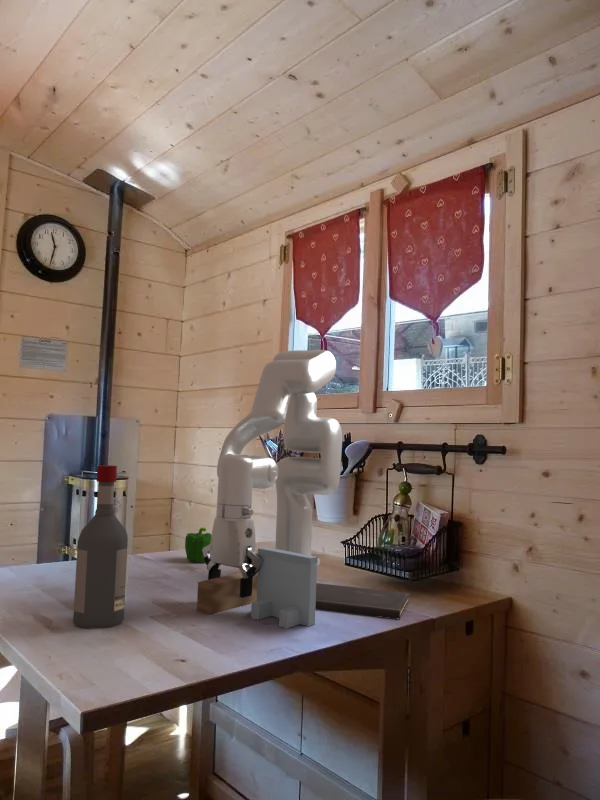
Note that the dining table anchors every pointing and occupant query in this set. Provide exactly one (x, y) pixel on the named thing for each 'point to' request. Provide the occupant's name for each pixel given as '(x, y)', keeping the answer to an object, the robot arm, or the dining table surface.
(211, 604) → the brown wooden block
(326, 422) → the robot arm
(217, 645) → the dining table surface
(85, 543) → the liquor
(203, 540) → the bell pepper
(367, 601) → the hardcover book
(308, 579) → the panel
